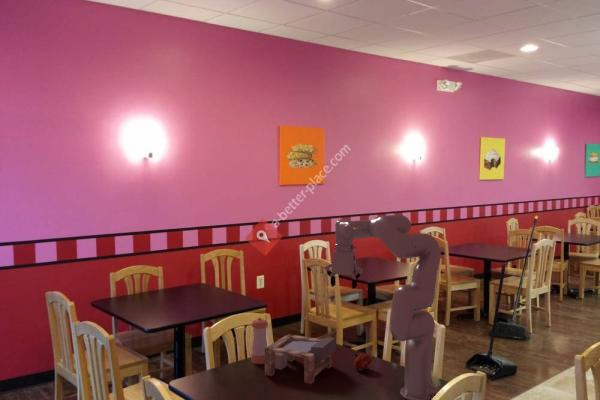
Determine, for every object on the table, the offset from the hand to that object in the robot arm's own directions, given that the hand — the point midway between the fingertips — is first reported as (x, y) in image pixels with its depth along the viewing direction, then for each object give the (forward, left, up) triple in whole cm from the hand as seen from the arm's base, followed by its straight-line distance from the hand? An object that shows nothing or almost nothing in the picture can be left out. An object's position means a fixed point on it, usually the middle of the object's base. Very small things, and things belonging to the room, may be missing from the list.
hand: (343, 287), depth 232 cm
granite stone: (+21, +20, -26) cm, 39 cm away
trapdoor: (+8, +20, -25) cm, 33 cm away
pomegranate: (-12, +8, -32) cm, 36 cm away
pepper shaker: (+32, +18, -32) cm, 49 cm away
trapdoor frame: (+12, +20, -32) cm, 40 cm away
